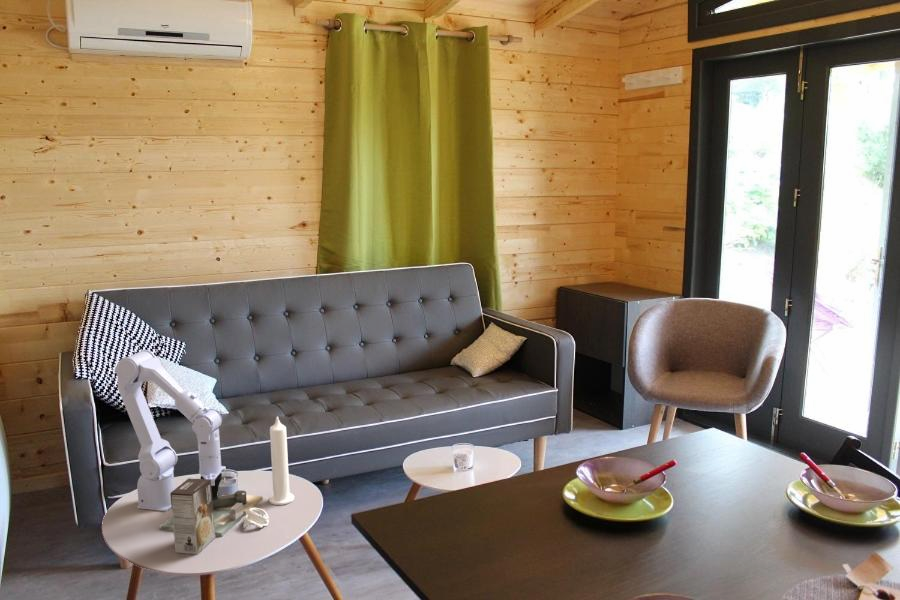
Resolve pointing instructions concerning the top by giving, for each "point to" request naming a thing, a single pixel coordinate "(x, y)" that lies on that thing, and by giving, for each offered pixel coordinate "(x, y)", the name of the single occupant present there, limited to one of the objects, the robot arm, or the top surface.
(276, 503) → the candle
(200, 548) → the coffee box
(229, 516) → the door and jamb
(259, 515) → the white curved piece
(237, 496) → the bar
